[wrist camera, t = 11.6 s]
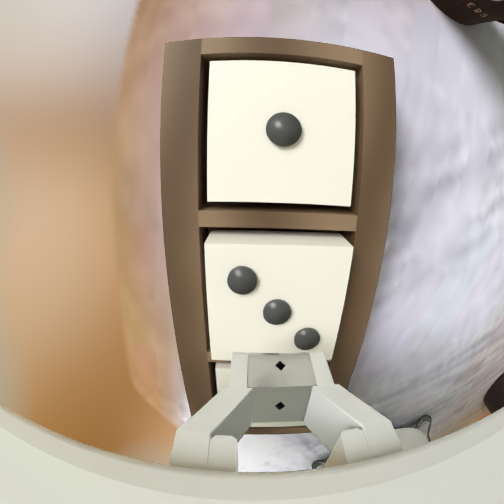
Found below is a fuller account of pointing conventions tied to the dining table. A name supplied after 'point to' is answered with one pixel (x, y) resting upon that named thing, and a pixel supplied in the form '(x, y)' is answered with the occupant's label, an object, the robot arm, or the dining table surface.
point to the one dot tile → (280, 133)
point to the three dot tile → (275, 291)
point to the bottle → (495, 396)
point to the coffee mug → (472, 10)
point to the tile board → (266, 213)
